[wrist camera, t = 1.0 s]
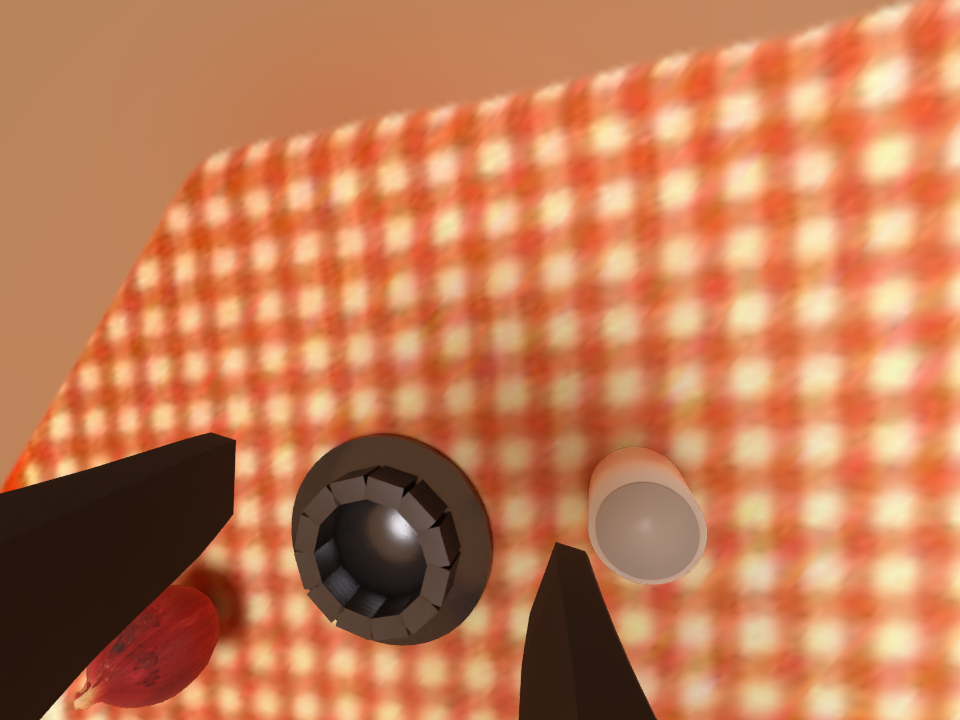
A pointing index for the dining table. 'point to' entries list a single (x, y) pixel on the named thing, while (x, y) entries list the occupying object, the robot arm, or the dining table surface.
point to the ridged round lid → (391, 540)
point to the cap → (644, 517)
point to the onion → (154, 652)
